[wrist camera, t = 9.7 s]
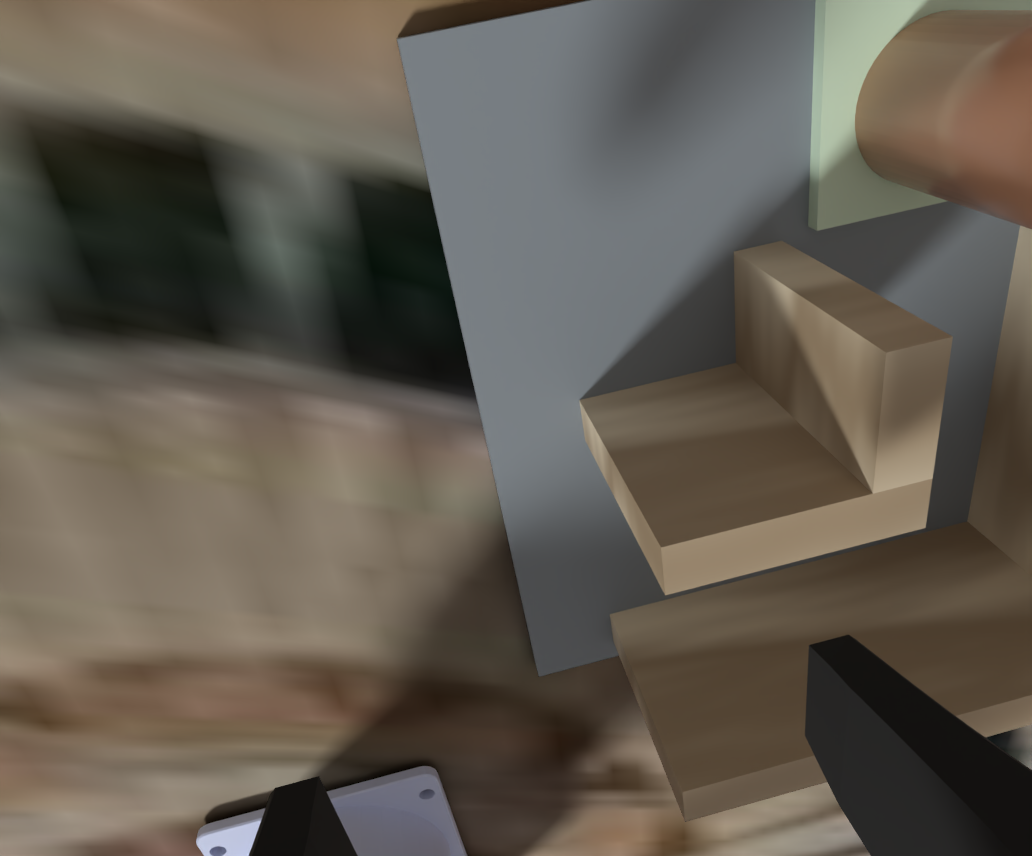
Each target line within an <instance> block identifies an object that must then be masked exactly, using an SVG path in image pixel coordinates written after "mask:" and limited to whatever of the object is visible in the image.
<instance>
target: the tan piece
mask: <svg viewBox="0 0 1032 856" xmlns="http://www.w3.org/2000/svg"><path fill="white" fill-rule="evenodd" d="M734 286H735V340H736V363H733V364H729V365H725V366H721V367H716V368H712V369H708V370H704V371H700V372H695V373H691V374H687V375H683V376H679V377H674V378H670V379H666V380H662V381H658V382H653V383H649V384H645V385H641V386H637V387H632V388H628V389H624V390H620V391H616V392H611V393H607V394H603V395H599V396H595V397H590V398H586V399H582V400H579V401H580V408H581V415H582V422H583V429H584V436H585V441H586V443H587V445H588V447H589V449H590V451H591V453H592V455H593V456H594V458H595V460H596V462H597V464H598V466H599V468H600V470H601V472H602V474H603V476H604V478H605V480H606V482H607V484H608V486H609V487H610V489H611V491H612V493H613V495H614V497H615V499H616V501H617V503H618V505H619V507H620V509H621V511H622V513H623V515H624V517H625V518H626V520H627V522H628V524H629V526H630V528H631V530H632V532H633V534H634V536H635V538H636V540H637V542H638V544H639V546H640V548H641V549H642V551H643V553H644V555H645V557H646V559H647V561H648V563H649V565H650V567H651V569H652V571H653V573H654V575H655V577H656V579H657V580H658V582H659V584H660V586H661V588H662V590H663V592H664V594H665V595H669V594H673V593H677V592H681V591H684V590H688V589H692V588H696V587H700V586H704V585H708V584H711V583H715V582H719V581H723V580H727V579H731V578H735V577H738V576H742V575H746V574H750V573H754V572H758V571H762V570H765V569H769V568H773V567H777V566H781V565H785V564H789V563H792V562H796V561H800V560H804V559H808V558H812V557H816V556H819V555H823V554H827V553H831V552H835V551H839V550H843V549H846V548H850V547H854V546H858V545H862V544H866V543H870V542H873V541H877V540H881V539H885V538H889V537H893V536H897V535H900V534H904V533H908V532H912V531H916V530H920V529H924V528H926V521H927V514H928V507H929V500H930V493H931V486H932V479H933V472H934V465H935V458H936V451H937V444H938V437H939V430H940V423H941V416H942V409H943V402H944V395H945V388H946V381H947V374H948V367H949V360H950V353H951V346H952V339H953V337H952V336H951V335H949V334H947V333H945V332H944V331H942V330H940V329H938V328H936V327H935V326H933V325H931V324H929V323H928V322H926V321H924V320H922V319H920V318H919V317H917V316H915V315H913V314H912V313H910V312H908V311H906V310H904V309H903V308H901V307H899V306H897V305H896V304H894V303H892V302H890V301H888V300H887V299H885V298H883V297H881V296H880V295H878V294H876V293H874V292H872V291H871V290H869V289H867V288H865V287H864V286H862V285H860V284H858V283H856V282H855V281H853V280H851V279H849V278H847V277H846V276H844V275H842V274H840V273H839V272H837V271H835V270H833V269H831V268H830V267H828V266H826V265H824V264H823V263H821V262H819V261H817V260H815V259H814V258H812V257H810V256H808V255H807V254H805V253H803V252H801V251H799V250H798V249H796V248H794V247H792V246H791V245H789V244H787V243H785V242H783V241H778V242H774V243H770V244H765V245H761V246H756V247H752V248H748V249H743V250H739V251H734ZM610 620H611V627H612V634H613V641H614V644H615V647H616V649H617V652H618V654H619V657H620V659H621V662H622V664H623V667H624V669H625V672H626V674H627V677H628V679H629V682H630V684H631V687H632V689H633V692H634V694H635V697H636V699H637V702H638V705H639V707H640V710H641V712H642V715H643V717H644V720H645V722H646V725H647V727H648V730H649V732H650V735H651V737H652V740H653V742H654V745H655V747H656V750H657V752H658V755H659V757H660V760H661V762H662V765H663V767H664V770H665V772H666V775H667V777H668V780H669V782H670V785H671V787H672V790H673V793H674V795H675V798H676V800H677V803H678V805H679V808H680V810H681V813H682V815H683V818H684V820H685V822H686V821H690V820H694V819H697V818H701V817H704V816H708V815H711V814H715V813H718V812H722V811H725V810H729V809H733V808H736V807H740V806H743V805H747V804H750V803H754V802H757V801H761V800H764V799H768V798H772V797H775V796H779V795H782V794H786V793H789V792H793V791H796V790H800V789H804V788H807V787H811V786H814V785H818V784H821V783H825V782H827V780H826V778H825V776H824V774H823V772H822V770H821V768H820V766H819V764H818V762H817V760H816V758H815V756H814V753H813V751H812V749H811V747H810V745H809V743H808V741H807V739H806V737H805V718H806V697H807V676H808V654H809V645H811V644H815V643H818V642H822V641H826V640H830V639H833V638H837V637H841V636H845V635H850V636H852V637H853V638H855V639H856V640H858V641H859V642H860V643H861V644H863V645H864V646H865V647H866V648H868V649H869V650H870V651H872V652H873V653H874V654H875V655H877V656H878V657H879V658H881V659H882V660H883V661H884V662H886V663H887V664H888V665H889V666H891V667H892V668H893V669H895V670H896V671H897V672H898V673H900V674H901V675H902V676H904V677H905V678H906V679H907V680H909V681H910V682H911V683H913V684H914V685H915V686H917V687H918V688H919V689H920V690H922V691H923V692H924V693H926V694H927V695H928V696H930V697H931V698H932V699H934V700H935V701H936V702H938V703H939V704H940V705H942V706H943V707H944V708H946V709H947V710H948V711H950V712H951V713H952V714H954V715H955V716H956V717H958V718H959V719H960V720H962V721H963V722H964V723H966V724H967V725H969V726H970V727H971V728H973V729H974V730H976V731H977V732H978V733H980V734H981V735H983V736H984V737H988V736H992V735H995V734H999V733H1002V732H1006V731H1009V730H1013V729H1016V728H1020V727H1023V726H1027V725H1031V724H1032V229H1029V228H1026V227H1023V226H1020V229H1019V235H1018V241H1017V246H1016V252H1015V257H1014V263H1013V269H1012V274H1011V280H1010V285H1009V291H1008V297H1007V302H1006V308H1005V313H1004V319H1003V324H1002V330H1001V336H1000V341H999V347H998V352H997V358H996V364H995V369H994V375H993V380H992V386H991V392H990V397H989V403H988V408H987V414H986V420H985V425H984V431H983V436H982V442H981V448H980V453H979V459H978V464H977V470H976V476H975V481H974V487H973V492H972V498H971V504H970V509H969V515H968V520H967V522H963V523H959V524H955V525H952V526H948V527H944V528H940V529H936V530H932V531H928V532H925V533H921V534H917V535H913V536H909V537H905V538H901V539H898V540H894V541H890V542H886V543H882V544H878V545H875V546H871V547H867V548H863V549H859V550H855V551H851V552H848V553H844V554H840V555H836V556H832V557H828V558H824V559H821V560H817V561H813V562H809V563H805V564H801V565H798V566H794V567H790V568H786V569H782V570H778V571H774V572H771V573H767V574H763V575H759V576H755V577H751V578H747V579H744V580H740V581H736V582H732V583H728V584H724V585H720V586H717V587H713V588H709V589H705V590H701V591H697V592H694V593H690V594H686V595H682V596H678V597H674V598H670V599H667V600H663V601H659V602H655V603H651V604H647V605H643V606H640V607H636V608H632V609H628V610H624V611H620V612H617V613H613V614H610Z"/></svg>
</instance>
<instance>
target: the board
mask: <svg viewBox="0 0 1032 856" xmlns="http://www.w3.org/2000/svg"><path fill="white" fill-rule="evenodd" d="M815 2H816V0H585V1H580V2H575V3H570V4H565V5H560V6H555V7H550V8H545V9H540V10H535V11H530V12H525V13H520V14H515V15H510V16H505V17H500V18H495V19H490V20H485V21H480V22H475V23H470V24H465V25H460V26H455V27H450V28H445V29H440V30H435V31H430V32H425V33H419V34H414V35H409V36H404V37H399V38H397V42H398V47H399V51H400V56H401V60H402V65H403V69H404V74H405V78H406V83H407V87H408V92H409V96H410V101H411V105H412V110H413V115H414V119H415V124H416V128H417V133H418V137H419V142H420V146H421V151H422V155H423V160H424V164H425V169H426V173H427V178H428V182H429V187H430V191H431V196H432V200H433V205H434V209H435V214H436V218H437V223H438V227H439V232H440V236H441V241H442V245H443V250H444V254H445V259H446V263H447V268H448V272H449V277H450V281H451V286H452V290H453V295H454V299H455V304H456V308H457V313H458V317H459V322H460V326H461V331H462V335H463V340H464V344H465V349H466V353H467V358H468V362H469V367H470V371H471V376H472V380H473V385H474V389H475V394H476V398H477V403H478V407H479V412H480V416H481V421H482V425H483V430H484V434H485V439H486V443H487V448H488V452H489V457H490V461H491V466H492V470H493V475H494V479H495V484H496V488H497V493H498V497H499V502H500V506H501V511H502V515H503V520H504V524H505V529H506V533H507V538H508V542H509V547H510V552H511V556H512V561H513V565H514V570H515V574H516V579H517V583H518V588H519V592H520V597H521V601H522V606H523V610H524V615H525V619H526V624H527V628H528V633H529V637H530V642H531V646H532V651H533V655H534V660H535V664H536V668H537V672H538V676H539V677H540V676H544V675H547V674H551V673H555V672H559V671H563V670H566V669H570V668H574V667H578V666H582V665H585V664H589V663H593V662H597V661H601V660H604V659H608V658H612V657H616V656H619V654H618V652H617V649H616V647H615V644H614V641H613V634H612V627H611V620H610V614H613V613H617V612H620V611H624V610H628V609H632V608H636V607H640V606H643V605H647V604H651V603H655V602H659V601H663V600H667V599H670V598H674V597H678V596H682V595H686V594H690V593H694V592H697V591H701V590H705V589H709V588H713V587H717V586H720V585H724V584H728V583H732V582H736V581H740V580H744V579H747V578H751V577H755V576H759V575H763V574H767V573H771V572H774V571H778V570H782V569H786V568H790V567H794V566H798V565H801V564H805V563H809V562H813V561H817V560H821V559H824V558H828V557H832V556H836V555H840V554H844V553H848V552H851V551H855V550H859V549H863V548H867V547H871V546H875V545H878V544H882V543H886V542H890V541H894V540H898V539H901V538H905V537H909V536H913V535H917V534H921V533H925V532H928V531H932V530H936V529H940V528H944V527H948V526H952V525H955V524H959V523H963V522H967V520H968V515H969V509H970V504H971V498H972V492H973V487H974V481H975V476H976V470H977V464H978V459H979V453H980V448H981V442H982V436H983V431H984V425H985V420H986V414H987V408H988V403H989V397H990V392H991V386H992V380H993V375H994V369H995V364H996V358H997V352H998V347H999V341H1000V336H1001V330H1002V324H1003V319H1004V313H1005V308H1006V302H1007V297H1008V291H1009V285H1010V280H1011V274H1012V269H1013V263H1014V257H1015V252H1016V246H1017V241H1018V235H1019V229H1020V225H1017V224H1014V223H1011V222H1008V221H1006V220H1003V219H1000V218H997V217H994V216H991V215H988V214H985V213H982V212H979V211H976V210H973V209H970V208H967V207H964V206H961V205H958V204H955V203H952V202H949V201H946V202H942V203H938V204H933V205H929V206H924V207H920V208H916V209H911V210H907V211H902V212H898V213H894V214H889V215H885V216H880V217H876V218H872V219H867V220H863V221H858V222H854V223H850V224H845V225H841V226H836V227H832V228H828V229H823V230H819V231H816V230H814V229H812V228H810V227H808V216H809V185H810V155H811V124H812V94H813V63H814V33H815ZM778 241H783V242H785V243H787V244H789V245H791V246H792V247H794V248H796V249H798V250H799V251H801V252H803V253H805V254H807V255H808V256H810V257H812V258H814V259H815V260H817V261H819V262H821V263H823V264H824V265H826V266H828V267H830V268H831V269H833V270H835V271H837V272H839V273H840V274H842V275H844V276H846V277H847V278H849V279H851V280H853V281H855V282H856V283H858V284H860V285H862V286H864V287H865V288H867V289H869V290H871V291H872V292H874V293H876V294H878V295H880V296H881V297H883V298H885V299H887V300H888V301H890V302H892V303H894V304H896V305H897V306H899V307H901V308H903V309H904V310H906V311H908V312H910V313H912V314H913V315H915V316H917V317H919V318H920V319H922V320H924V321H926V322H928V323H929V324H931V325H933V326H935V327H936V328H938V329H940V330H942V331H944V332H945V333H947V334H949V335H951V336H952V337H953V339H952V346H951V353H950V360H949V367H948V374H947V381H946V388H945V395H944V402H943V409H942V416H941V423H940V430H939V437H938V444H937V451H936V458H935V465H934V472H933V479H932V486H931V493H930V500H929V507H928V514H927V521H926V528H924V529H920V530H916V531H912V532H908V533H904V534H900V535H897V536H893V537H889V538H885V539H881V540H877V541H873V542H870V543H866V544H862V545H858V546H854V547H850V548H846V549H843V550H839V551H835V552H831V553H827V554H823V555H819V556H816V557H812V558H808V559H804V560H800V561H796V562H792V563H789V564H785V565H781V566H777V567H773V568H769V569H765V570H762V571H758V572H754V573H750V574H746V575H742V576H738V577H735V578H731V579H727V580H723V581H719V582H715V583H711V584H708V585H704V586H700V587H696V588H692V589H688V590H684V591H681V592H677V593H673V594H669V595H665V594H664V592H663V590H662V588H661V586H660V584H659V582H658V580H657V579H656V577H655V575H654V573H653V571H652V569H651V567H650V565H649V563H648V561H647V559H646V557H645V555H644V553H643V551H642V549H641V548H640V546H639V544H638V542H637V540H636V538H635V536H634V534H633V532H632V530H631V528H630V526H629V524H628V522H627V520H626V518H625V517H624V515H623V513H622V511H621V509H620V507H619V505H618V503H617V501H616V499H615V497H614V495H613V493H612V491H611V489H610V487H609V486H608V484H607V482H606V480H605V478H604V476H603V474H602V472H601V470H600V468H599V466H598V464H597V462H596V460H595V458H594V456H593V455H592V453H591V451H590V449H589V447H588V445H587V443H586V441H585V436H584V429H583V422H582V415H581V408H580V401H579V400H582V399H586V398H590V397H595V396H599V395H603V394H607V393H611V392H616V391H620V390H624V389H628V388H632V387H637V386H641V385H645V384H649V383H653V382H658V381H662V380H666V379H670V378H674V377H679V376H683V375H687V374H691V373H695V372H700V371H704V370H708V369H712V368H716V367H721V366H725V365H729V364H733V363H736V340H735V286H734V251H739V250H743V249H748V248H752V247H756V246H761V245H765V244H770V243H774V242H778Z"/></svg>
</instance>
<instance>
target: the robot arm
mask: <svg viewBox="0 0 1032 856" xmlns="http://www.w3.org/2000/svg"><path fill="white" fill-rule="evenodd" d="M805 737H806V739H807V741H808V743H809V745H810V747H811V749H812V751H813V753H814V756H815V758H816V760H817V762H818V764H819V766H820V768H821V770H822V772H823V774H824V776H825V778H826V780H827V782H828V784H829V786H830V788H831V790H832V792H833V794H834V796H835V798H836V800H837V802H838V803H839V805H840V807H841V809H842V810H843V812H844V813H845V815H846V817H847V818H848V820H849V821H850V823H851V825H852V826H853V828H854V829H855V831H856V833H857V834H858V836H859V837H860V839H861V840H862V842H863V844H864V845H865V847H866V848H867V850H868V852H869V853H870V855H871V856H1032V770H1031V769H1029V768H1028V767H1026V766H1025V765H1023V764H1022V763H1020V762H1019V761H1017V760H1016V759H1015V758H1013V757H1012V756H1010V755H1009V754H1008V753H1006V752H1005V751H1003V750H1002V749H1001V748H999V747H998V746H996V745H995V744H994V743H992V742H991V741H989V740H988V739H987V738H985V737H984V736H983V735H981V734H980V733H978V732H977V731H976V730H974V729H973V728H971V727H970V726H969V725H967V724H966V723H964V722H963V721H962V720H960V719H959V718H958V717H956V716H955V715H954V714H952V713H951V712H950V711H948V710H947V709H946V708H944V707H943V706H942V705H940V704H939V703H938V702H936V701H935V700H934V699H932V698H931V697H930V696H928V695H927V694H926V693H924V692H923V691H922V690H920V689H919V688H918V687H917V686H915V685H914V684H913V683H911V682H910V681H909V680H907V679H906V678H905V677H904V676H902V675H901V674H900V673H898V672H897V671H896V670H895V669H893V668H892V667H891V666H889V665H888V664H887V663H886V662H884V661H883V660H882V659H881V658H879V657H878V656H877V655H875V654H874V653H873V652H872V651H870V650H869V649H868V648H866V647H865V646H864V645H863V644H861V643H860V642H859V641H858V640H856V639H855V638H853V637H852V636H850V635H845V636H841V637H837V638H833V639H830V640H826V641H822V642H818V643H815V644H811V645H809V654H808V676H807V697H806V718H805ZM196 843H197V846H198V847H199V849H200V850H201V852H202V853H203V855H204V856H467V854H466V851H465V848H464V845H463V842H462V840H461V837H460V834H459V831H458V828H457V826H456V823H455V820H454V817H453V814H452V812H451V809H450V806H449V803H448V800H447V798H446V795H445V792H444V789H443V786H442V783H441V781H440V778H439V775H438V772H437V771H436V770H435V769H434V768H432V767H430V766H420V767H416V768H412V769H409V770H405V771H401V772H398V773H394V774H390V775H386V776H383V777H379V778H375V779H372V780H368V781H364V782H360V783H357V784H353V785H349V786H346V787H342V788H338V789H334V790H331V791H327V792H326V790H325V788H324V786H323V784H322V782H321V780H320V778H319V776H318V777H315V778H311V779H307V780H303V781H300V782H296V783H292V784H288V785H285V786H281V787H277V788H275V789H274V791H273V792H272V793H271V794H270V797H269V799H268V802H267V805H266V808H264V809H260V810H257V811H253V812H249V813H245V814H242V815H238V816H234V817H231V818H227V819H223V820H219V821H216V822H212V823H209V824H206V825H204V826H202V827H201V828H200V829H199V831H198V835H197V840H196Z"/></svg>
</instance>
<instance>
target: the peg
mask: <svg viewBox="0 0 1032 856" xmlns="http://www.w3.org/2000/svg"><path fill="white" fill-rule="evenodd" d="M855 132H856V139H857V143H858V147H859V150H860V152H861V155H862V157H863V159H864V160H865V162H866V163H867V165H868V166H869V167H870V168H871V169H872V171H874V172H875V173H876V174H877V175H879V176H880V177H882V178H884V179H885V180H888V181H891V182H893V183H896V184H899V185H902V186H905V187H908V188H911V189H914V190H917V191H920V192H923V193H926V194H929V195H932V196H935V197H938V198H941V199H944V200H947V201H949V202H952V203H955V204H958V205H961V206H964V207H967V208H970V209H973V210H976V211H979V212H982V213H985V214H988V215H991V216H994V217H997V218H1000V219H1003V220H1006V221H1008V222H1011V223H1014V224H1017V225H1020V226H1023V227H1026V228H1029V229H1032V10H947V11H940V12H936V13H932V14H930V15H927V16H925V17H922V18H920V19H918V20H917V21H915V22H913V23H911V24H910V25H908V26H907V27H906V28H904V29H903V30H902V31H900V32H899V33H898V34H897V35H896V36H895V37H894V38H893V39H892V40H891V41H890V42H889V43H888V44H887V45H886V46H885V47H884V48H883V50H882V51H881V52H880V54H879V55H878V56H877V58H876V59H875V61H874V62H873V64H872V66H871V68H870V69H869V71H868V73H867V75H866V78H865V80H864V82H863V85H862V87H861V90H860V93H859V97H858V101H857V105H856V113H855Z"/></svg>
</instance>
